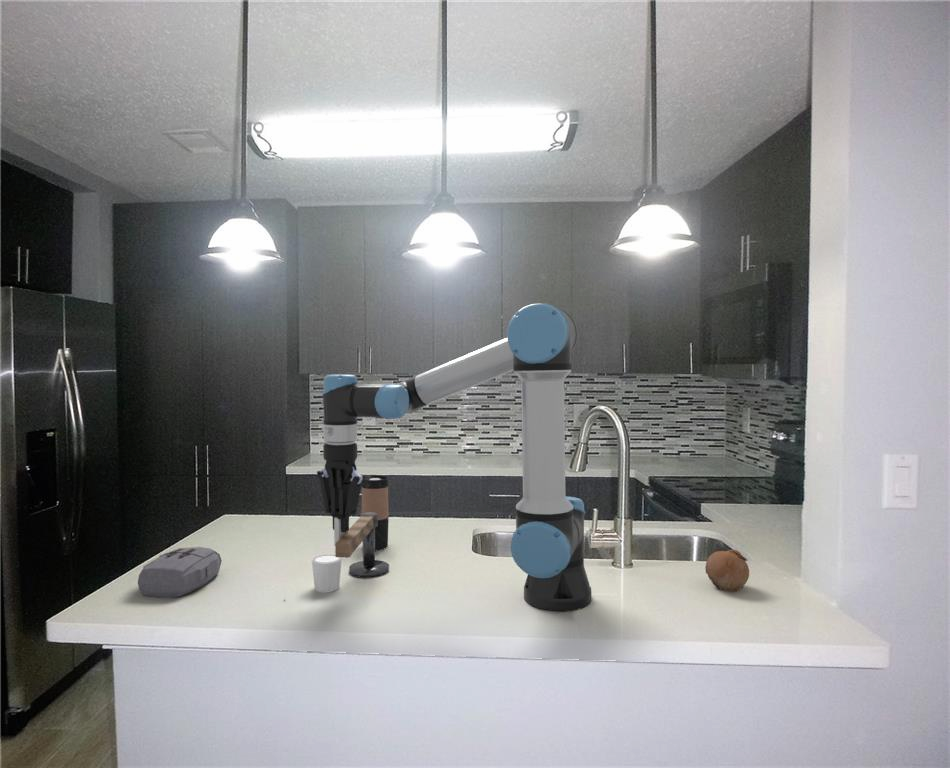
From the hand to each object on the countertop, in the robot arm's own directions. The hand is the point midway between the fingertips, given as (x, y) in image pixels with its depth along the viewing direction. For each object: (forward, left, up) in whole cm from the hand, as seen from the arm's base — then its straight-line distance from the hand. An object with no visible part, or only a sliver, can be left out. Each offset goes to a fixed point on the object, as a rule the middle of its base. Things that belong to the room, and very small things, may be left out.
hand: (340, 544), depth 141 cm
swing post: (+8, -14, -11) cm, 20 cm away
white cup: (+6, 0, -12) cm, 13 cm away
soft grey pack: (+34, +21, -12) cm, 42 cm away
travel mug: (+23, -28, -12) cm, 38 cm away
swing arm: (+1, -5, 0) cm, 5 cm away
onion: (-64, -63, -12) cm, 91 cm away
